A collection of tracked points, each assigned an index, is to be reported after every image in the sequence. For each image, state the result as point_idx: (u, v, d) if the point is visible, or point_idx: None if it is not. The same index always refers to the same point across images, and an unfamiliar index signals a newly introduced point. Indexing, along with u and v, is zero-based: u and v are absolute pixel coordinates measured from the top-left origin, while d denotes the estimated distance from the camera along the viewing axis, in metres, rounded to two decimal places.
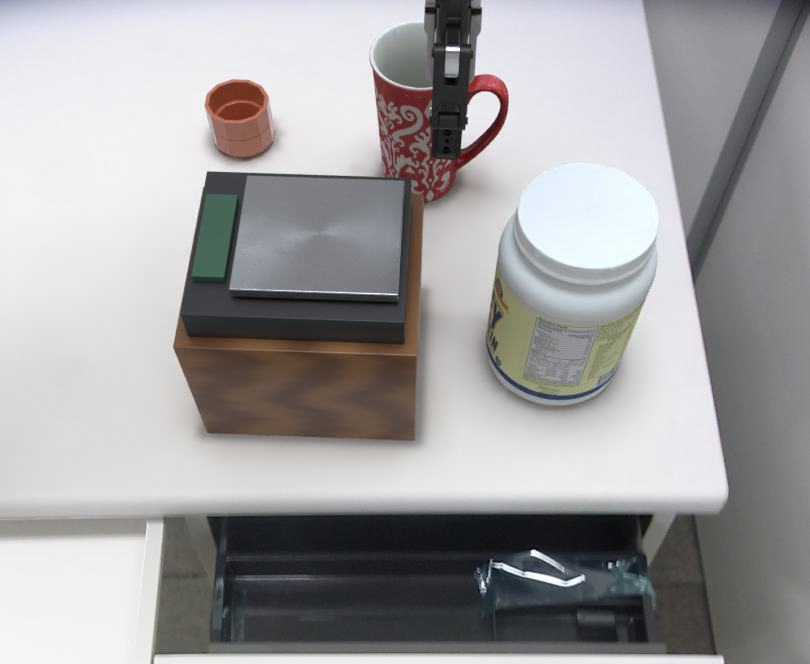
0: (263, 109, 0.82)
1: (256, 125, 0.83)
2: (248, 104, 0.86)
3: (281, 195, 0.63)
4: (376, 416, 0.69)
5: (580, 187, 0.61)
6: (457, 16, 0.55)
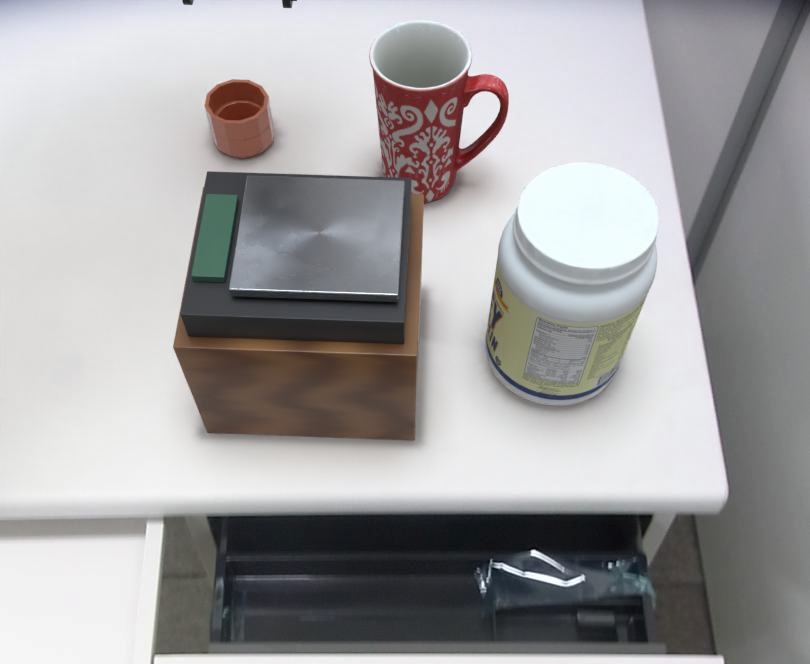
0: (263, 109, 0.82)
1: (256, 125, 0.83)
2: (248, 104, 0.86)
3: (281, 195, 0.63)
4: (376, 416, 0.69)
5: (579, 187, 0.61)
6: None
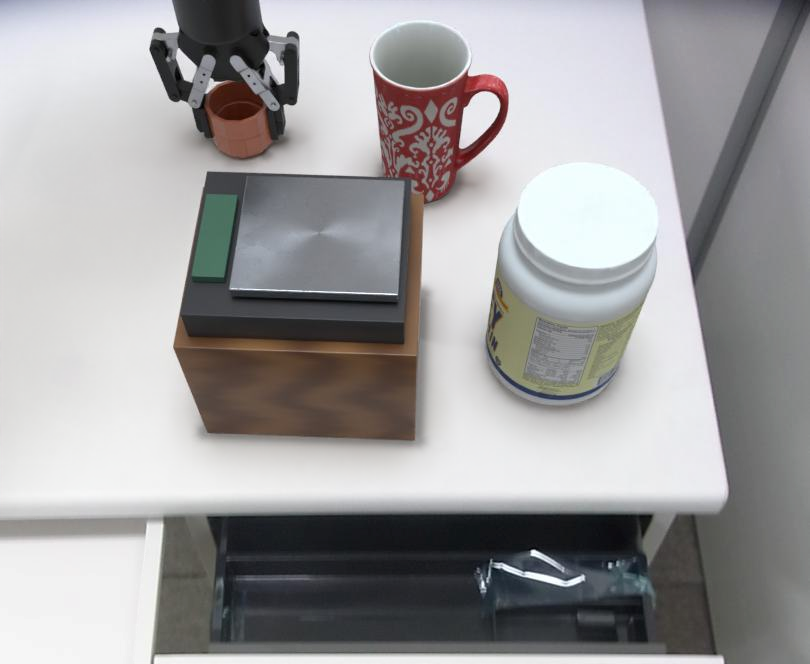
0: (263, 109, 0.82)
1: (256, 125, 0.83)
2: (248, 104, 0.86)
3: (281, 195, 0.63)
4: (376, 416, 0.69)
5: (579, 187, 0.61)
6: None
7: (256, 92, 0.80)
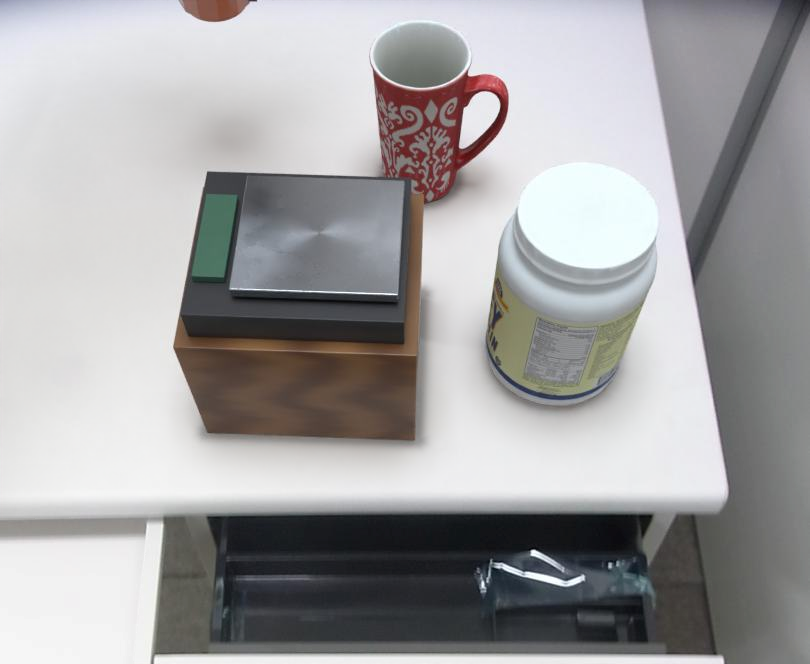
0: None
1: None
2: None
3: (281, 195, 0.63)
4: (376, 416, 0.69)
5: (579, 187, 0.61)
6: None
7: None
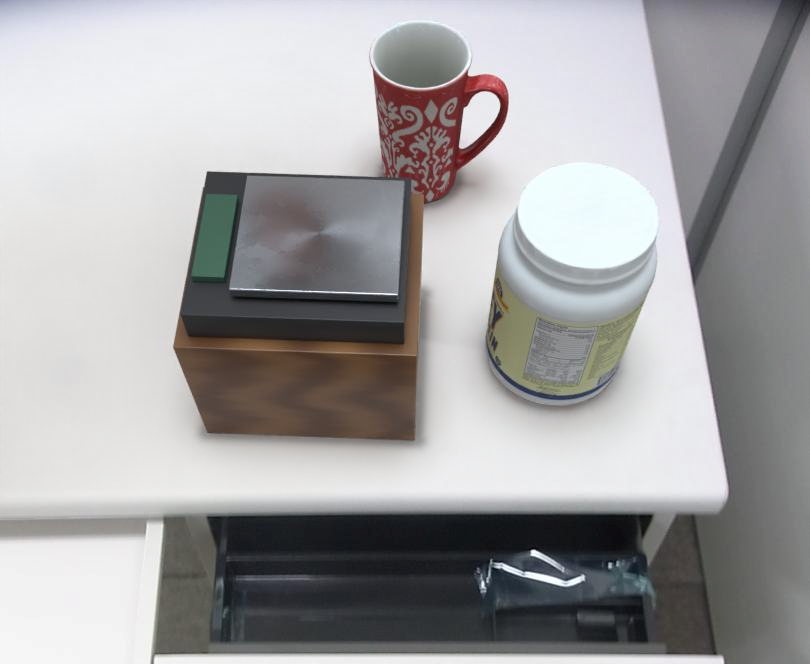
0: None
1: None
2: None
3: (281, 195, 0.63)
4: (376, 416, 0.69)
5: (579, 187, 0.61)
6: None
7: None
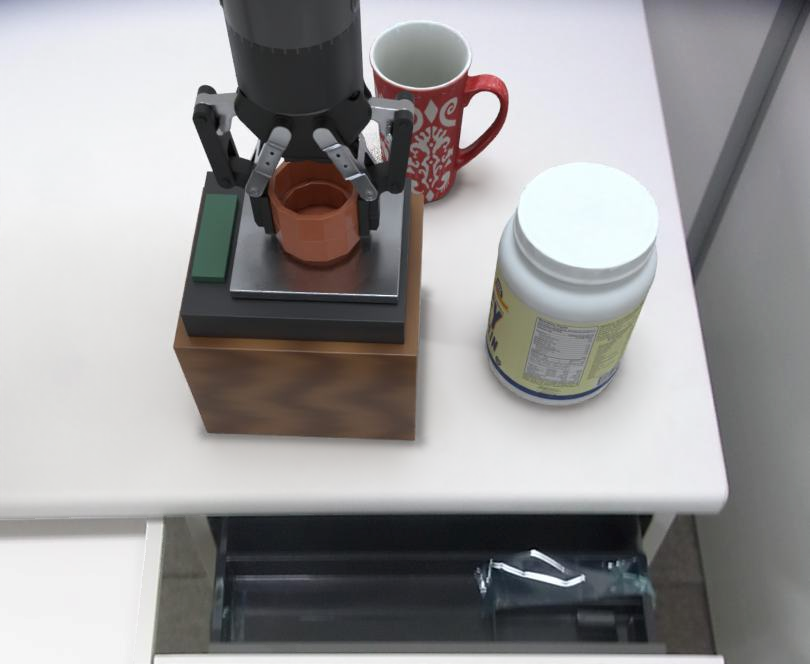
0: (353, 198, 0.57)
1: (342, 221, 0.57)
2: (326, 185, 0.60)
3: None
4: (376, 416, 0.69)
5: (579, 187, 0.61)
6: None
7: (347, 177, 0.54)
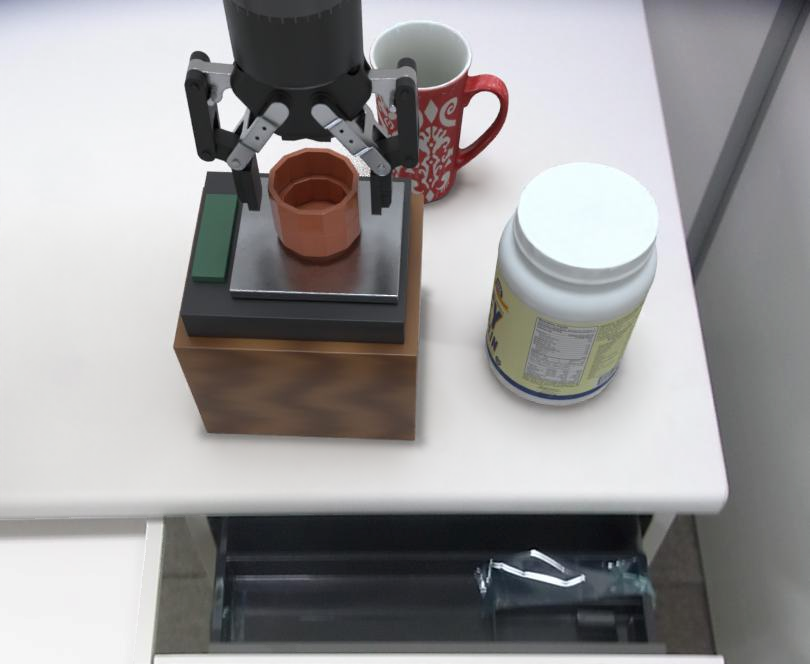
0: (352, 193, 0.57)
1: (342, 216, 0.57)
2: (325, 180, 0.60)
3: None
4: (376, 416, 0.69)
5: (579, 187, 0.61)
6: None
7: (355, 152, 0.53)
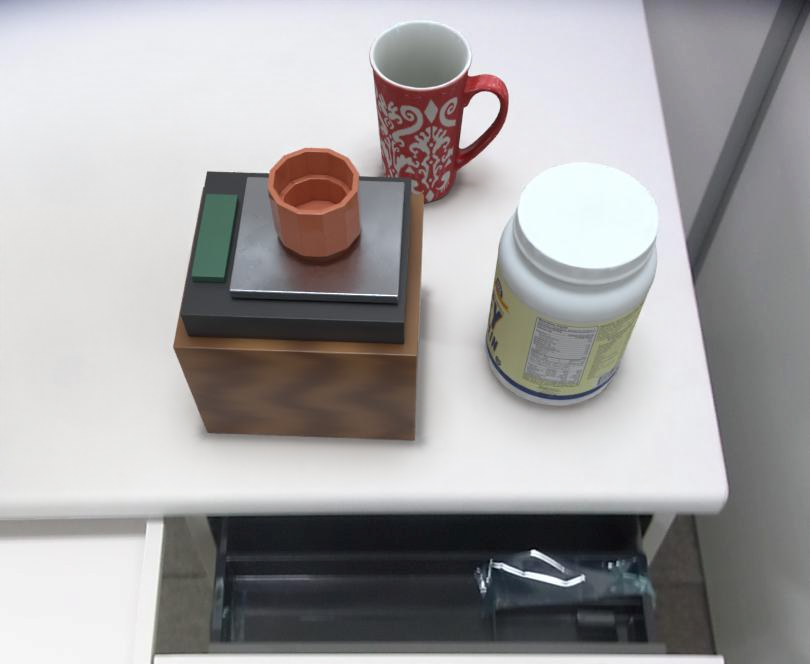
0: (352, 193, 0.57)
1: (342, 216, 0.57)
2: (325, 180, 0.60)
3: None
4: (376, 416, 0.69)
5: (579, 187, 0.61)
6: None
7: None
